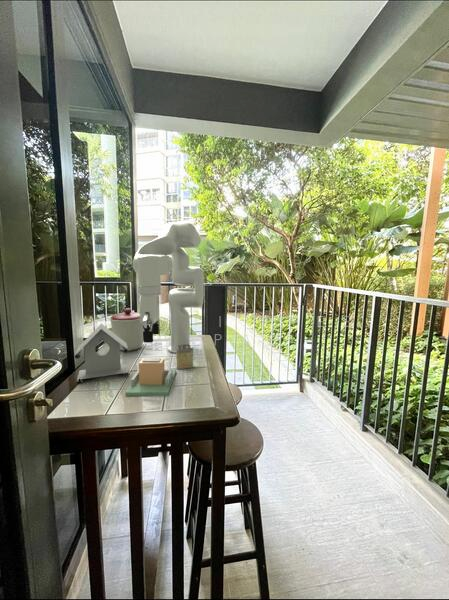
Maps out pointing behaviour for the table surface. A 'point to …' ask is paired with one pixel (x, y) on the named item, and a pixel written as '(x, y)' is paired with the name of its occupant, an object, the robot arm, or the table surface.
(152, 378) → the chute block
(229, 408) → the table surface
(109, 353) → the grey nesting box
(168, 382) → the green walled tray
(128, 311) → the canister
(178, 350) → the lighter
